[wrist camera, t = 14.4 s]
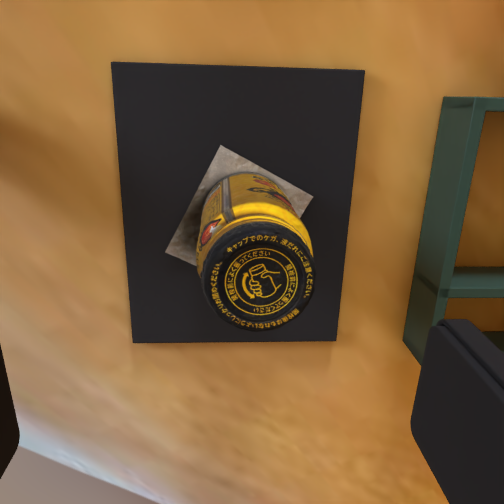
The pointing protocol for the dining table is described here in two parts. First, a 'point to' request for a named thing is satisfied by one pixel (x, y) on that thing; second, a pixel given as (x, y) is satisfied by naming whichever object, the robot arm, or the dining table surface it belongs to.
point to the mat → (199, 160)
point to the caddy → (450, 225)
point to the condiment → (248, 244)
